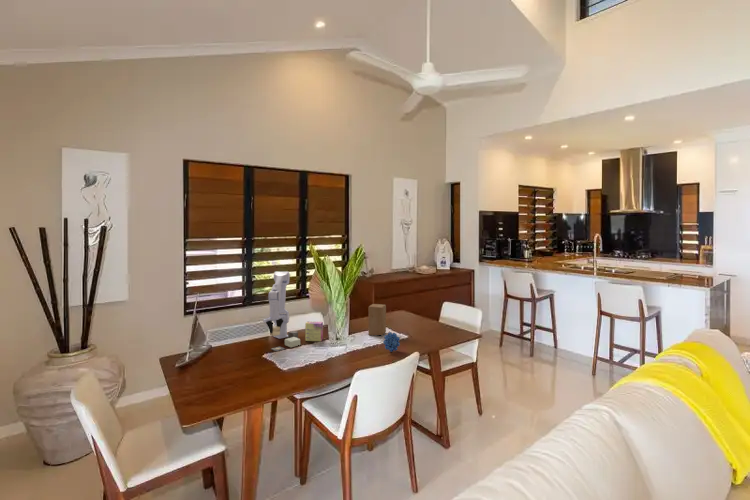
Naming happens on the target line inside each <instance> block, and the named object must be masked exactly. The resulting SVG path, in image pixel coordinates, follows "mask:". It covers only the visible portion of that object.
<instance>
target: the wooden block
mask: <svg viewBox="0 0 750 500" xmlns="http://www.w3.org/2000/svg"><path fill="white" fill-rule="evenodd" d="M385 332H387V305H386V304H381V303H380V304H379V303H372V304H370V305H369V306H368V331H367V333H368V336H374V335H383V334H384V333H385ZM385 334H386V333H385ZM385 334H384V335H385ZM384 335H383V336H384Z"/></svg>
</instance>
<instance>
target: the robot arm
mask: <svg viewBox="0 0 750 500" xmlns="http://www.w3.org/2000/svg"><path fill="white" fill-rule="evenodd" d="M290 274H291V273H290V271H274V272H273V281H274V284H272V287H271V289H270V291H269V292H268V295H267V296H268V298H267V299H268V303H269V317H267V318H263V319H262V322H263V323H265V324H266V326H267V327H268V331H269V334H270V333H272V332H273V326H279V327H280V335H277V336H272V337H274V338H277V339H279V340H280V339H284V338H285V339H286V338H288V327H287V326H288V323H289V322H290V311H288V310H287V309H286V295H287V294H286V293H287V292H286V291H287V285H289V284H290V277H291V276H290Z"/></svg>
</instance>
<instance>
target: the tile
mask: <svg viewBox="0 0 750 500" xmlns="http://www.w3.org/2000/svg"><path fill="white" fill-rule="evenodd" d="M270 350H272V351H274V352H280V351H284V350H286V348H284V347H282V346H277V347H272V348H270Z"/></svg>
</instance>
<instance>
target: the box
mask: <svg viewBox="0 0 750 500" xmlns="http://www.w3.org/2000/svg"><path fill="white" fill-rule="evenodd" d="M304 331H305V333H304V334H305V338H304V339H305V342H306V341H307V342H323V340H324V339H323V338H324V335H323V334H324V333H323V332H324V322H323V321H310V320H309V321H306V322H305V330H304Z"/></svg>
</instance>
